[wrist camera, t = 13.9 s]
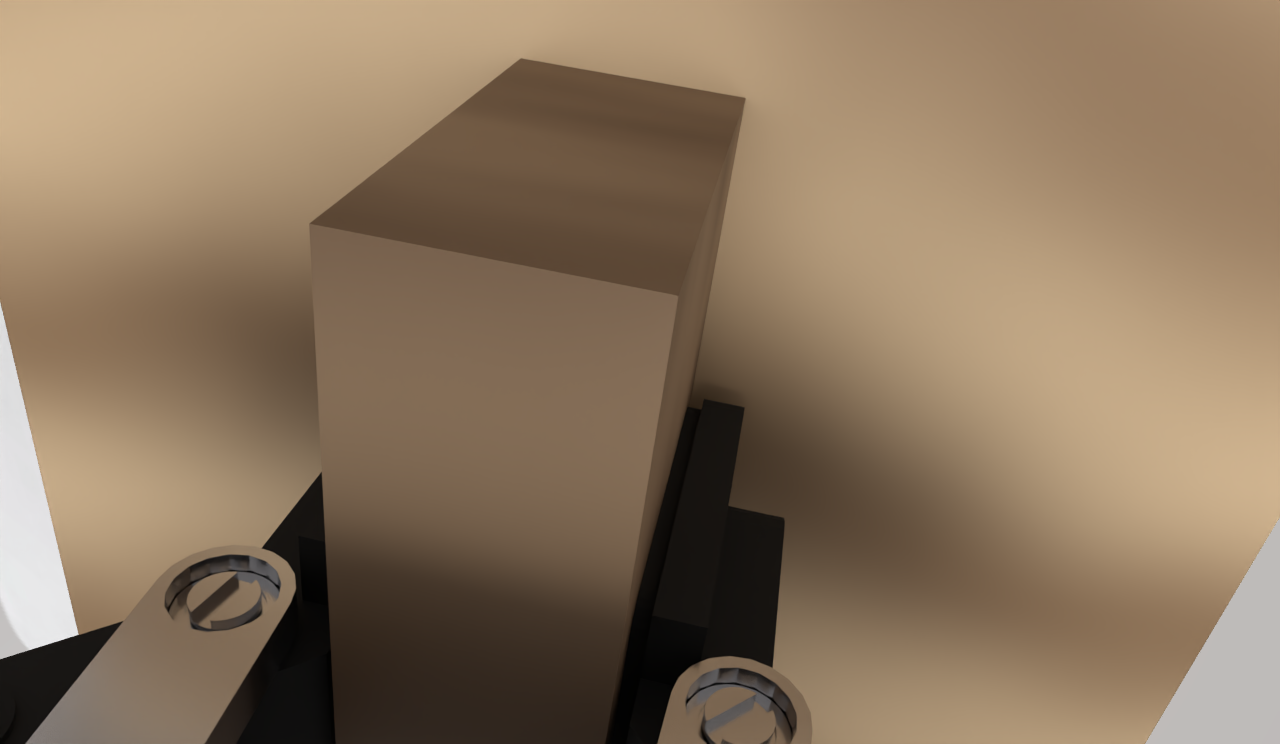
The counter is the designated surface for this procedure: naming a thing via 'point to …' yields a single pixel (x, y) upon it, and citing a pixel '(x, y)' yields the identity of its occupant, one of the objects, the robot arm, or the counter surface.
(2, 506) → the counter surface
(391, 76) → the lid
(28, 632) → the counter surface
